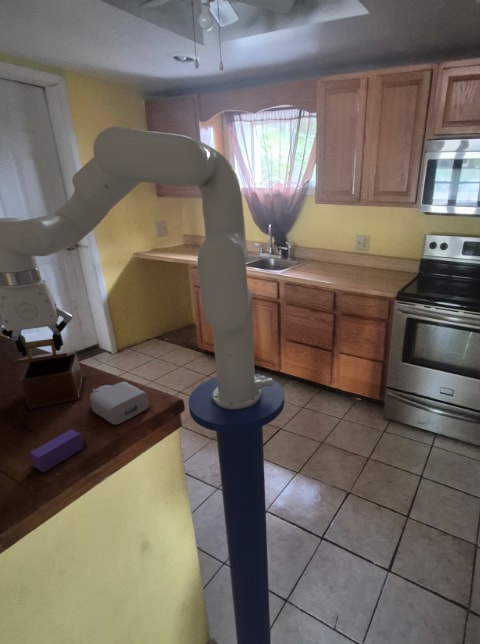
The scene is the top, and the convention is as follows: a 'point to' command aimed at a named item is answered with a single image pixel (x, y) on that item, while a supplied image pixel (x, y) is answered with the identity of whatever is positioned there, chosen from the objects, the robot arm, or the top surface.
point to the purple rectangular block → (56, 450)
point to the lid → (46, 356)
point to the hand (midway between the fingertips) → (42, 350)
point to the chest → (52, 381)
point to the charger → (118, 402)
